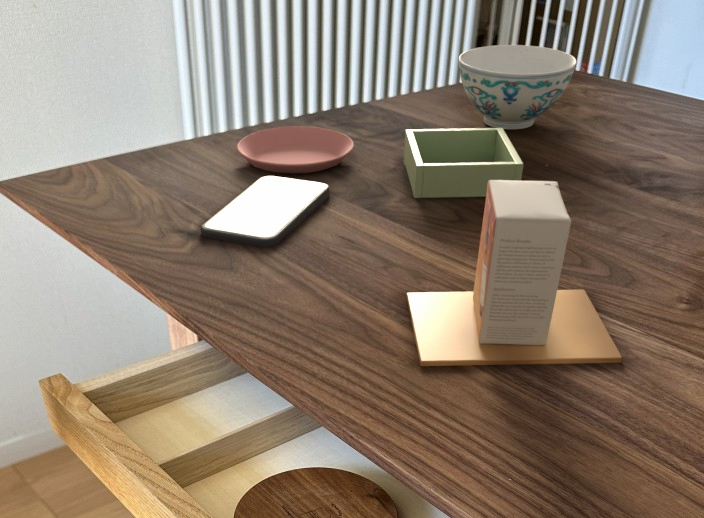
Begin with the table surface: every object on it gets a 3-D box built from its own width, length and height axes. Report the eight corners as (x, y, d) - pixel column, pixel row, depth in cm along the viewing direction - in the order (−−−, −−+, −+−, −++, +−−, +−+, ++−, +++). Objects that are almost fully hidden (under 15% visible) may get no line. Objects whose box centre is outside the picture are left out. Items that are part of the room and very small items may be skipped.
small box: (471, 299, 75) (487, 177, 68) (536, 301, 74) (558, 179, 67) (477, 345, 69) (494, 217, 62) (547, 347, 69) (572, 218, 62)
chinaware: (478, 144, 109) (485, 78, 104) (437, 111, 120) (442, 49, 115) (585, 133, 111) (598, 68, 106) (535, 102, 122) (545, 41, 117)
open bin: (498, 162, 104) (502, 127, 101) (518, 201, 94) (523, 163, 92) (403, 164, 104) (405, 129, 101) (414, 203, 95) (416, 165, 92)
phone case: (273, 256, 85) (334, 197, 96) (272, 241, 84) (334, 183, 95) (196, 243, 88) (263, 187, 99) (194, 228, 87) (262, 173, 98)
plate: (217, 172, 103) (215, 154, 101) (270, 137, 112) (270, 120, 111) (324, 188, 98) (324, 171, 97) (370, 150, 108) (371, 134, 106)
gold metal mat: (582, 299, 77) (584, 289, 76) (619, 368, 68) (622, 357, 67) (405, 302, 77) (406, 292, 76) (420, 372, 68) (420, 361, 67)
